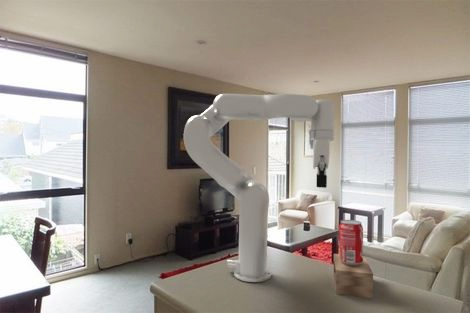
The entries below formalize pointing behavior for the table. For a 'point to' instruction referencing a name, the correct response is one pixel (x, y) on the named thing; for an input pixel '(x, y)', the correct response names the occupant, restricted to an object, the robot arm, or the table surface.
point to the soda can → (351, 242)
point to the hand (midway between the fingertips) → (321, 186)
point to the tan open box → (353, 278)
